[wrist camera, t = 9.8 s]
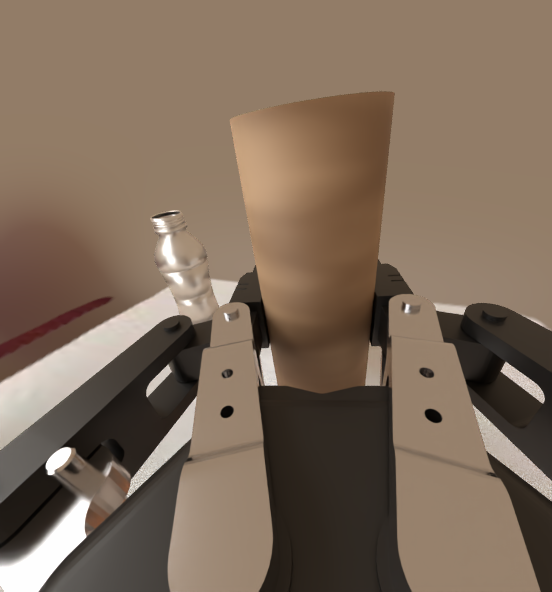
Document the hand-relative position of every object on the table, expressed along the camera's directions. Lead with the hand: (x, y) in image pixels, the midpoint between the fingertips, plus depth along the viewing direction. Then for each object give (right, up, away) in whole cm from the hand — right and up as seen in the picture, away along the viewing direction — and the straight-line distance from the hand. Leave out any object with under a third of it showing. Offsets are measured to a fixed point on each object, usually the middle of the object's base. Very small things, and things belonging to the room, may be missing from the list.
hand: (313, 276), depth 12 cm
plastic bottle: (-13, -8, +29) cm, 32 cm away
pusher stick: (+1, -8, +2) cm, 8 cm away
